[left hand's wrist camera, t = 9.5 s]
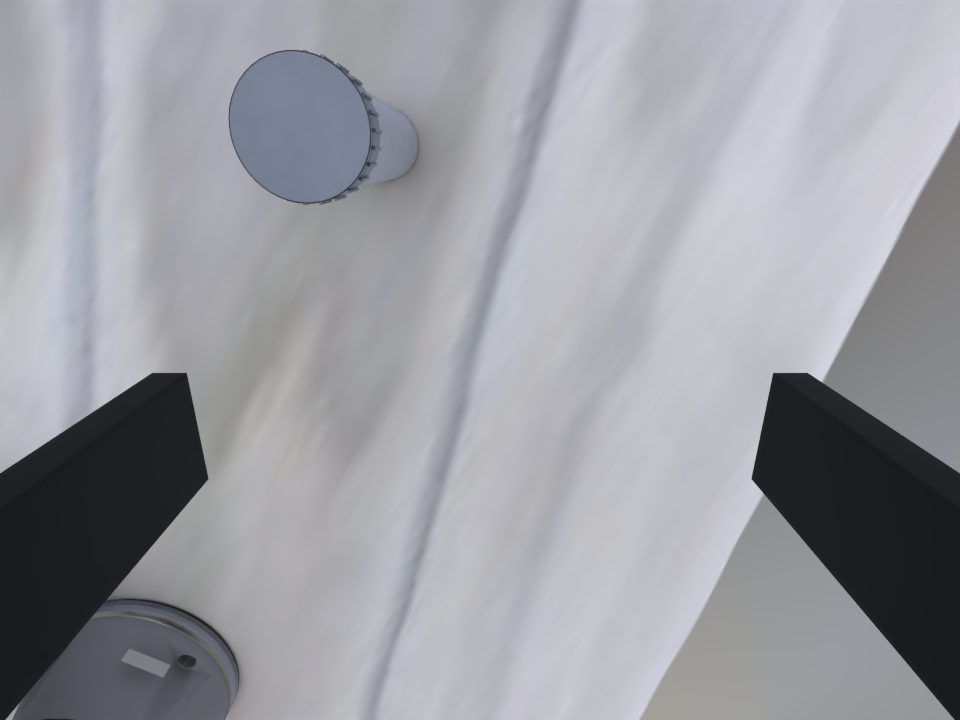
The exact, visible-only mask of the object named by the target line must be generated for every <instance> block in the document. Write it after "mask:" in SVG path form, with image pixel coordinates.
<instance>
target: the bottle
mask: <svg viewBox="0 0 960 720" xmlns="http://www.w3.org/2000/svg"><path fill="white" fill-rule="evenodd" d="M365 91H366V90H365ZM366 93H367V94H369V95H370V96H372V98H373V99H372V100H371V101H372V103H373V106H374V108H375V110H376V112H378V113H379V115H380V116H378V121H379V126H380V130H382V134H380V147H382V150H381V151H379V154H378V157H377V160H376V163H377V166H376V167H374V168H373V170H372V171H371V173H370V175H369V177H370V179H369V180H366V181H364V182H363V183H362V184H361V185H360V186H359V187H358V188H360V187H364V186H368V185H373V184H377V183H381V182H385V181H389V180H393V179H397V178H399V177H401V176H403V175H404V174H406V173H407V172H408V171H409V170H410V169H411V167H412V166H413V164H414V162H415V160H416V158H417V154H418V137H417V133H416V131H415V128H414V126H413V125H412V123H411V122H410V120H409V119H408V118H407V117H406V116H405V115H404V114H403V113H401V112H400V111H398V110H396V109H395V108H393V107H392V106H390V105H388V104H387V103H385V102H384V101H382V100H380V99H379V98H377V97H376V96H374V95H372V94H371V93H369V92H368V91H366Z"/></svg>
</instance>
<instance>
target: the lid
mask: <svg viewBox="0 0 960 720" xmlns="http://www.w3.org/2000/svg"><path fill="white" fill-rule="evenodd" d="M348 73H349V70H347V69H346V68H344V67H343V66H341V65H340V64H338V63H337V65H335V64H334V62H333V61H331V60H330V59H328V58H327V57H325V56H324V55H322V54H321V55H320V56H318V55H316V54H313V53H310V52H308V51H306V50H303V51H299V50H284V51H279V52H275V53H272V54H269V55H266V56H264V57H262V58H261V59H259V60H257V61H256V62H255V63H253V64H252V65H251V66H250V67H249V68H248V69H247V70H246V71H245V72H244V74H243V75H242V76H241V78H240V79H239V81H238V83H237V85H236V87H235V89H234V92H233V94H232V97H231V102H230V107H229V128H230V135H231V139H232V142H233V146H234V148H235V151H236V153H237V156H238V158H239V159H240V161H241V163H242V165H243V166H244V168H245V169H246V170H247V172H248V173H249V174H250V175H251V177H252V178H253V179H254V180H255V181H256V182H257V183H258V184H260V185H261V186H262V187H263V188H265V189H266V190H267V191H269V192H270V193H272V194H274V195H276V196H278V197H280V198H283V199H285V200H287V201H292V202H296V203H303V205H308V204H312V203H319V204H320V205H322V204H326V203H329V202H332V199H335V201H337V200H340V199H344V198H346V195H347V194H349V193H351V192H355V191H358V190H359V188H358V187H359V186H360V185H361V184H362V183H363V182H364V181H366V180H369V179H370V177H369V175H370V173H371V171H372V170H373V168H374V167H376V166H377V163H376V160H377V157H378V154H379V151H381V150H382V147H380V134H382V130H380V126H379V121H378V116H380V115H379V113H378V112H376V110H375V108H374V106H373V103H372V101H371V100H372V99H373V98H372V96H370V95H369V94H367V93H366V91H365V90H364V89H363V87H362V86H361V85H362V82H361V81H359V80H358V79H356V78H355V77H353V76H351V75H349V74H348Z"/></svg>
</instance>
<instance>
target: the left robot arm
mask: <svg viewBox="0 0 960 720" xmlns="http://www.w3.org/2000/svg"><path fill="white" fill-rule="evenodd" d="M207 480H208V475H207V470H206V465H205V460H204V455H203V450H202V445H201V440H200V436H199V431H198V426H197V421H196V416H195V411H194V406H193V402H192V397H191V392H190V387H189V382H188V377H187V373H152V374H150V375H149V376H147V377H146V378H144V379H143V380H141V381H140V382H138V383H137V384H135V385H134V386H132V387H131V388H129V389H128V390H126V391H125V392H123V393H121V394H120V395H118V396H117V397H115V398H114V399H112V400H111V401H109V402H108V403H106V404H105V405H103V406H102V407H100V408H99V409H97V410H96V411H94V412H93V413H91V414H90V415H88V416H87V417H85V418H84V419H82V420H81V421H79V422H77V423H76V424H74V425H73V426H71V427H70V428H68V429H67V430H65V431H64V432H62V433H61V434H59V435H58V436H56V437H55V438H53V439H52V440H50V441H49V442H47V443H46V444H44V445H43V446H41V447H40V448H38V449H37V450H35V451H34V452H32V453H30V454H29V455H27V456H26V457H24V458H23V459H21V460H20V461H18V462H17V463H15V464H14V465H12V466H11V467H9V468H8V469H6V470H5V471H3V472H2V473H0V720H5V719H6V718H7V717H8V716H9V715H10V713H11V712H12V711H13V710H14V709H15V708H16V706H17V705H18V704H19V703H20V704H19V706H18V708H17V711H16V713H15V715H14V717H13V720H225V718H226V716H227V714H228V712H229V709H230V707H231V705H232V703H233V701H234V698H235V696H236V693H237V689H238V671H237V666H236V663H235V660H234V658H233V656H232V654H231V652H230V651H229V649H228V648H227V646H226V645H225V644H224V642H223V641H222V640H221V639H220V638H219V637H218V636H217V635H216V634H215V633H214V632H213V631H212V630H211V629H210V628H208V627H207V626H206V625H204V624H203V623H201V622H200V621H198V620H197V619H195V618H193V617H191V616H190V615H188V614H186V613H183V612H181V611H179V610H176V609H174V608H171V607H168V606H164V605H161V604H157V603H152V602H146V601H136V600H119V601H110V602H105V601H106V600H107V599H108V597H109V596H110V595H111V594H112V593H113V591H114V590H115V589H116V588H117V587H118V585H119V584H120V583H121V582H122V581H123V580H124V578H125V577H126V576H127V575H128V574H129V572H130V571H131V570H132V569H133V568H134V567H135V565H136V564H137V563H138V562H139V561H140V559H141V558H142V557H143V556H144V555H145V554H146V552H147V551H148V550H149V549H150V548H151V546H152V545H153V544H154V543H155V542H156V540H157V539H158V538H159V537H160V536H161V535H162V533H163V532H164V531H165V530H166V529H167V527H168V526H169V525H170V524H171V523H172V522H173V520H174V519H175V518H176V517H177V516H178V514H179V513H180V512H181V511H182V510H183V508H184V507H185V506H186V505H187V504H188V503H189V501H190V500H191V499H192V498H193V497H194V495H195V494H196V493H197V492H198V491H199V490H200V488H201V487H202V486H203V485H204V484H205V482H206V481H207ZM752 480H753V481H754V482H755V484H756V485H757V486H758V487H759V488H760V490H761V491H762V492H763V493H764V494H765V495H766V497H767V498H768V499H769V500H770V501H771V503H772V504H773V505H774V506H775V507H776V508H777V510H778V511H779V512H780V513H781V514H782V516H783V517H784V518H785V519H786V520H787V522H788V523H789V524H790V525H791V526H792V527H793V529H794V530H795V531H796V532H797V533H798V535H799V536H800V537H801V538H802V539H803V540H804V542H805V543H806V544H807V545H808V546H809V548H810V549H811V550H812V551H813V552H814V553H815V555H816V556H817V557H818V558H819V559H820V561H821V562H822V563H823V564H824V565H825V567H826V568H827V569H828V570H829V571H830V572H831V574H832V575H833V576H834V577H835V578H836V580H837V581H838V582H839V583H840V584H841V585H842V587H843V588H844V589H845V590H846V591H847V593H848V594H849V595H850V596H851V597H852V598H853V600H854V601H855V602H856V603H857V604H858V606H859V607H860V608H861V609H862V610H863V612H864V613H865V614H866V615H867V616H868V617H869V619H870V620H871V621H872V622H873V623H874V625H875V626H876V627H877V628H878V629H879V630H880V632H881V633H882V634H883V635H884V636H885V638H886V639H887V640H888V641H889V642H890V644H891V645H892V646H893V647H894V648H895V649H896V651H897V652H898V653H899V654H900V655H901V657H902V658H903V659H904V660H905V661H906V663H907V664H908V665H909V666H910V667H911V668H912V670H913V671H914V672H915V673H916V674H917V676H918V677H919V678H920V679H921V680H922V681H923V683H924V684H925V685H926V686H927V687H928V689H929V690H930V691H931V692H932V693H933V695H934V696H935V697H936V698H937V699H938V700H939V702H940V703H941V704H942V705H943V706H944V708H945V709H946V710H947V711H948V712H949V713H950V715H951V716H952V717H953V718H954V719H955V720H960V473H958V472H957V471H955V470H954V469H952V468H951V467H949V466H948V465H946V464H945V463H943V462H942V461H940V460H939V459H937V458H935V457H934V456H933V455H931V454H929V453H928V452H926V451H925V450H923V449H922V448H920V447H919V446H917V445H916V444H914V443H913V442H911V441H910V440H908V439H907V438H905V437H904V436H902V435H901V434H899V433H898V432H896V431H895V430H893V429H892V428H890V427H889V426H887V425H886V424H884V423H882V422H881V421H879V420H878V419H876V418H875V417H873V416H872V415H870V414H869V413H867V412H866V411H864V410H863V409H861V408H860V407H858V406H857V405H855V404H854V403H852V402H851V401H849V400H848V399H846V398H845V397H843V396H842V395H840V394H839V393H837V392H835V391H834V390H832V389H831V388H829V387H828V386H826V385H825V384H823V383H822V382H820V381H819V380H817V379H816V378H814V377H813V376H811V375H810V374H808V373H773V377H772V382H771V387H770V392H769V397H768V402H767V406H766V411H765V416H764V421H763V426H762V431H761V436H760V440H759V445H758V450H757V455H756V460H755V465H754V470H753V475H752ZM104 602H105V603H104Z"/></svg>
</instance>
